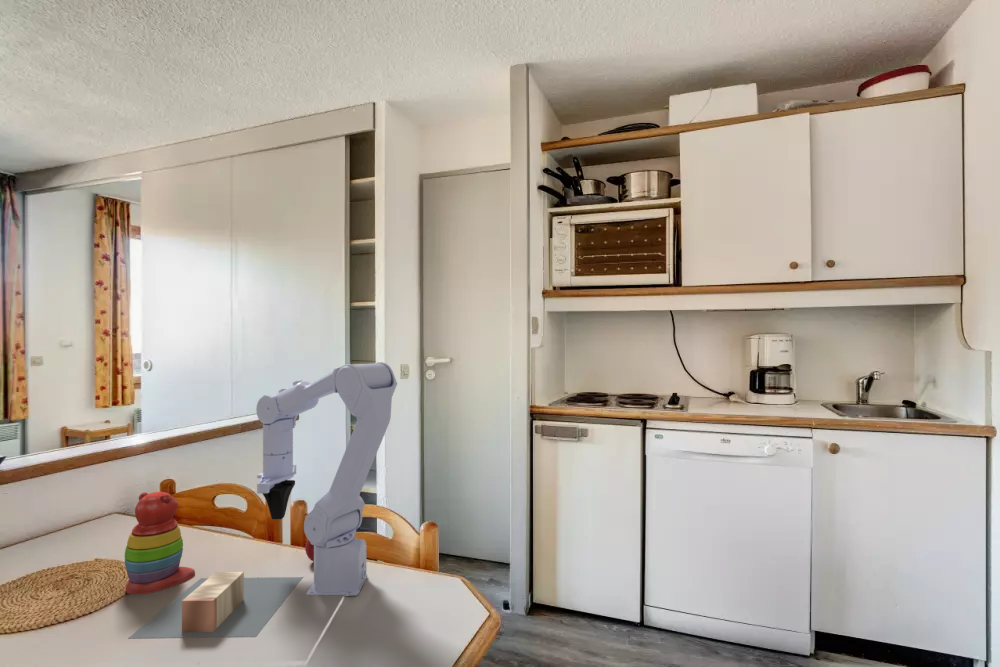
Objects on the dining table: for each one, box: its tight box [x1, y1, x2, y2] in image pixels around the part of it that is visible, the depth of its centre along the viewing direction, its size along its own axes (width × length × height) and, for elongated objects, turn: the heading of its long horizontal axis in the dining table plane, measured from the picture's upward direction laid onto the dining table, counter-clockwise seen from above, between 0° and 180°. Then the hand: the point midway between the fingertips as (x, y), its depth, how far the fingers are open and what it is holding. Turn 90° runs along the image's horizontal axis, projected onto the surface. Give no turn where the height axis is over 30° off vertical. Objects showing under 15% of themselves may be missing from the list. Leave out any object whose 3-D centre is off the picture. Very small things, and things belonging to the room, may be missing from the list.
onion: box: [304, 539, 314, 563], centre depth 107 cm, size 6×6×8 cm
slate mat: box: [127, 576, 304, 640], centre depth 90 cm, size 20×20×1 cm
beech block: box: [182, 571, 245, 632], centre depth 86 cm, size 5×5×10 cm
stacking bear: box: [124, 491, 196, 595], centre depth 99 cm, size 11×10×18 cm
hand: (278, 518), depth 105 cm, fingers closed
